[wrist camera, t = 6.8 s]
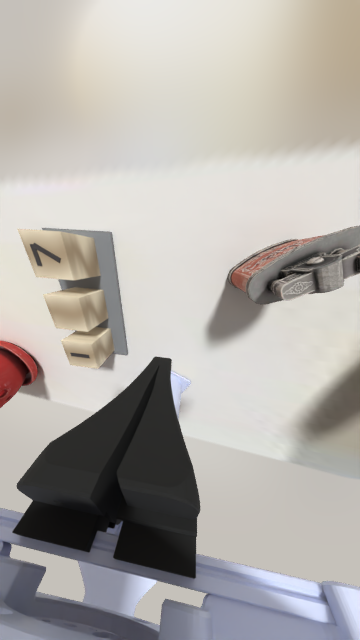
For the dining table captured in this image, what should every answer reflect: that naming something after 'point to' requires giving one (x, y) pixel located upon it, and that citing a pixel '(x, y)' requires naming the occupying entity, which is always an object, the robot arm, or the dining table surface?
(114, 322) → the felt strip
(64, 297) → the plain block
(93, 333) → the block one
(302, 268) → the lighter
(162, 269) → the dining table surface
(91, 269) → the block seven
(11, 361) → the plant pot
